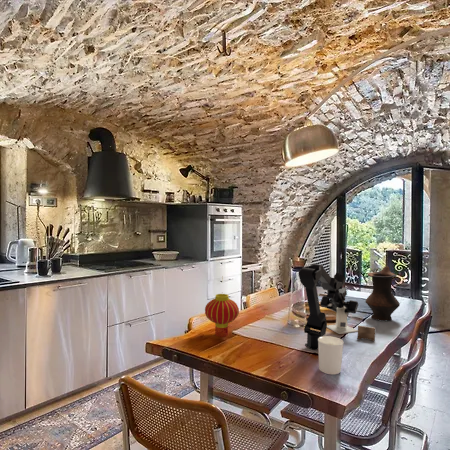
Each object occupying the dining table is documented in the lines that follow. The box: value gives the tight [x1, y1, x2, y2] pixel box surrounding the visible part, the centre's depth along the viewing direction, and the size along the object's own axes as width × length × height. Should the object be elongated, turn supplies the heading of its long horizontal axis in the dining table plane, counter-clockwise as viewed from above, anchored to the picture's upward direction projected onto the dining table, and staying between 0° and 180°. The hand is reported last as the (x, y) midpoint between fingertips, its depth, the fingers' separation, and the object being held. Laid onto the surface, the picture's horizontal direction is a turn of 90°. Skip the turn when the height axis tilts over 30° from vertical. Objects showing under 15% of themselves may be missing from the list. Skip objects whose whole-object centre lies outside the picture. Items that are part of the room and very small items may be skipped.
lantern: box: [204, 275, 240, 337], centre depth 178 cm, size 17×17×30 cm
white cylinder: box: [317, 335, 345, 375], centre depth 141 cm, size 10×10×12 cm
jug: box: [365, 266, 400, 322], centre depth 209 cm, size 21×18×30 cm
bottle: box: [335, 300, 348, 328], centre depth 189 cm, size 6×5×14 cm
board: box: [326, 323, 358, 335], centre depth 190 cm, size 12×12×1 cm
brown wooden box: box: [357, 324, 376, 342], centre depth 176 cm, size 8×4×6 cm, turn 66°
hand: (342, 312), depth 190 cm, fingers closed on bottle, 5 cm apart
